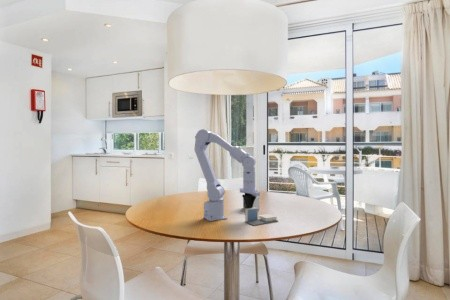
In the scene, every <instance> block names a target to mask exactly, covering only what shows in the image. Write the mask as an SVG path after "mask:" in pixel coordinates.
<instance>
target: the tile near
mask: <svg viewBox="0 0 450 300" xmlns="http://www.w3.org/2000/svg"><path fill="white" fill-rule="evenodd" d="M244 210H245V211H244V212H245V214H244V219H245V223H246V222H247V221H253V220H259V214H258V213H259V210H258V208H256V207H254V208H247V209H244Z"/></svg>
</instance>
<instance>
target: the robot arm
mask: <svg viewBox="0 0 450 300" xmlns="http://www.w3.org/2000/svg"><path fill="white" fill-rule="evenodd" d="M194 139H195V142H194V152H195V155H196V158H197V160H198V163H199V166H200V168H201V171H202V173H203V176H204V179H205V182H206V190H207V193H206V194H207V197H208V200H207V201H204V202H203V217H202V218H203V219H205V220H207V221H209V222H214V221H218V220H226V219H228V217H227V216H224V215H225V213H224V211H225V210H224V209H225V207H224V203H225V202H224V200H225V199H224V195H225V193H226V191H225V189H224V187H223V185H221V183H220V181H219V180H218V179H217V177H216V173H215V171H214V168H213V165H212V163H211V160H210V158H209V156H208V152H207V148H208V147H209V145H210V144H211V143H213V144H217V145H218V146H220V147H221V148H222V149H224V150H226V151H228V152H229V156H230V157H231V158H233V159H234V160H236V161H237V162H238V163H239V164H241V165H242V167H243V169H242V174H243V175H242V183H243V184H242V187H243V188H239V193H242V195H241V197H242V199H243V198H244V201H245V203H246V207H247V208H252V207H253V203H254V201H255V199H256V197H261V192H260V191H258V189H257V188H256V170H255V169H256V163H257V161H256V158H255V157H254V156H253V155H250V153H249V152H246V151H244V150H243V148H242V147H241V146H238V145H235V146H233V145H231V144H230V143H229V142H228V141H227V140H225V139H224V138H223V137H222V136H220V135H218V134H217V133H215V132H213V131H212V130H210V129H205V128H204V129H203V128H202V129H199V130H198V131H197V133H196V134H195V136H194ZM255 188H256V189H257V190H256V189H255Z"/></svg>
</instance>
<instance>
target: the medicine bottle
mask: <svg viewBox="0 0 450 300" xmlns="http://www.w3.org/2000/svg"><path fill="white" fill-rule="evenodd" d="M255 189H256V190H257V191H258V189H257V187H255ZM260 197H261V196H259V197H256V199H255V201H254V203H253V207H252V208H254V207H256V208H258V211H259V210H260V209H261V208H260V207H261V206H260V205H261V201H260V200H261V198H260ZM242 201H243V202H242V204H243V205H242V206H243V209H244V210H245V209H247V207H246V203H245V201H244V198H243V197H242Z"/></svg>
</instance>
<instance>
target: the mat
mask: <svg viewBox="0 0 450 300" xmlns="http://www.w3.org/2000/svg"><path fill="white" fill-rule="evenodd" d="M277 222H279V220H278V219H277V220H273V221H267V222H266V221H263V220H261V219H259V218H258V220H253V221H247V222H245V223H246V224H248V225H250V226H253V227H256V226H261V225H265V224H267V225H268V224H272V223H277Z"/></svg>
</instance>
